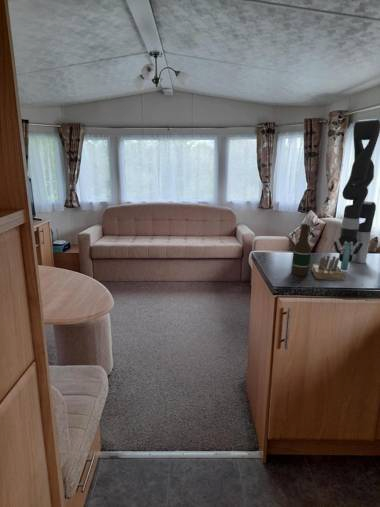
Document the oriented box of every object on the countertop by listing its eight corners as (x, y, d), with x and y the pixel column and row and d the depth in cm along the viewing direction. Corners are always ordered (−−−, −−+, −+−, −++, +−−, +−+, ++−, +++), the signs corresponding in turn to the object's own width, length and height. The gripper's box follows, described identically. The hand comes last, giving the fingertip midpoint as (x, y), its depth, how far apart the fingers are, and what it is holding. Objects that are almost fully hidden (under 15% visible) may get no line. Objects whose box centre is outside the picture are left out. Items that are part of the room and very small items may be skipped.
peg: (339, 268, 171) (343, 241, 167) (346, 268, 170) (350, 241, 166) (341, 270, 168) (345, 242, 164) (347, 270, 167) (352, 243, 163)
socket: (311, 269, 170) (314, 251, 168) (337, 272, 168) (340, 254, 165) (315, 278, 157) (318, 259, 154) (343, 281, 154) (346, 261, 152)
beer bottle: (308, 272, 165) (314, 223, 159) (307, 277, 158) (314, 226, 152) (291, 270, 168) (296, 222, 162) (290, 275, 161) (296, 225, 155)
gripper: (363, 226, 165) (358, 260, 170) (333, 225, 168) (328, 258, 173) (368, 229, 158) (362, 264, 163) (336, 227, 161) (331, 262, 165)
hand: (344, 261), depth 168 cm, fingers closed on peg, 3 cm apart
